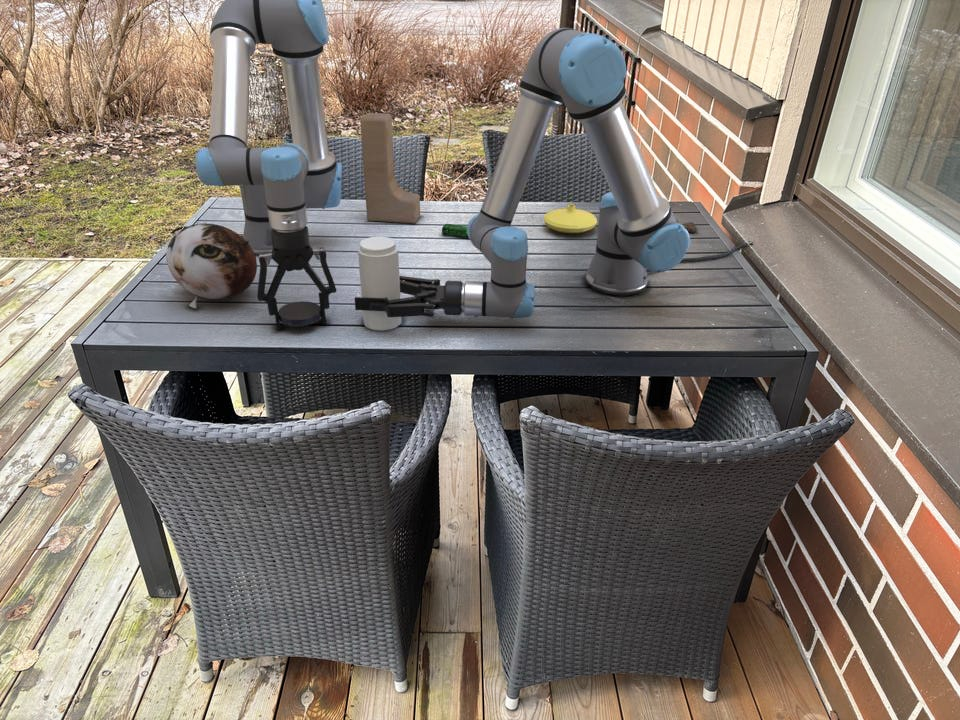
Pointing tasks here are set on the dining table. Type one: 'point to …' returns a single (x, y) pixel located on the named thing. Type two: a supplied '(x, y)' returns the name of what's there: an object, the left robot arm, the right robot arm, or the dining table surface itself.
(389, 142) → the decorative block
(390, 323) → the jar
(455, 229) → the handgun
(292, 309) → the lid
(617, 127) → the right robot arm
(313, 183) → the left robot arm
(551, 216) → the yellow knobbed pot cover
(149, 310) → the dining table surface
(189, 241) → the cat face balloon
